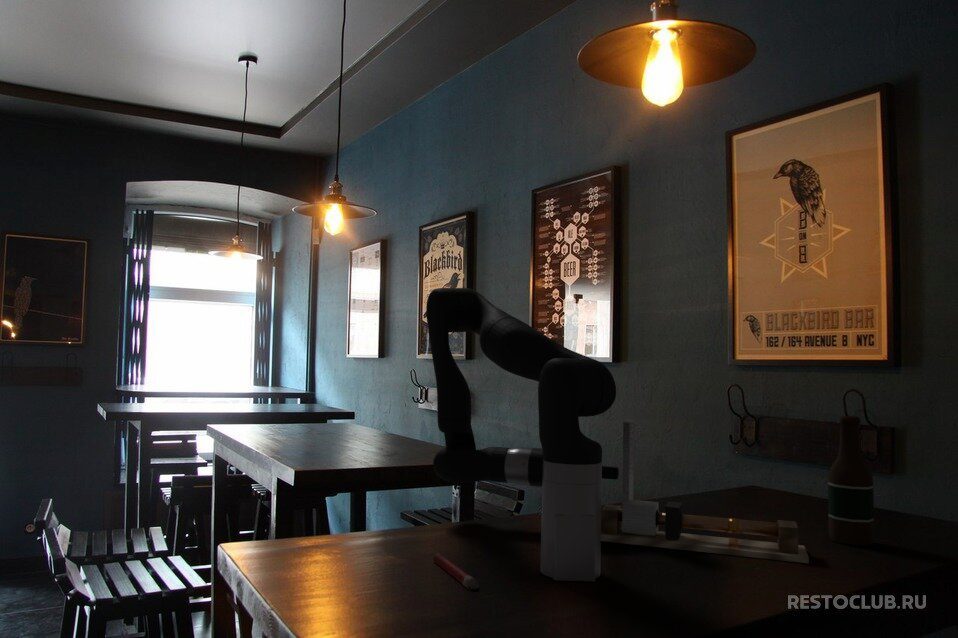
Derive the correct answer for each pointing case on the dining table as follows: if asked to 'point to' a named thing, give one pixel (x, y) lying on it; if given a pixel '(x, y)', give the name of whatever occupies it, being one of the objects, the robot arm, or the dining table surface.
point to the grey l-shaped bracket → (635, 512)
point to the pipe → (720, 524)
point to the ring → (672, 520)
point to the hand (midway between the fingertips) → (618, 473)
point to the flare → (456, 572)
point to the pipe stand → (709, 540)
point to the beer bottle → (850, 490)
